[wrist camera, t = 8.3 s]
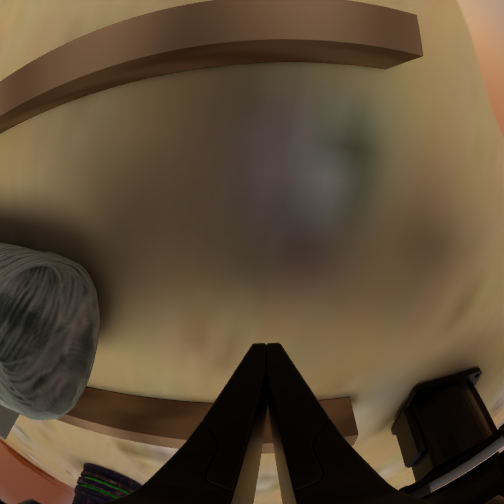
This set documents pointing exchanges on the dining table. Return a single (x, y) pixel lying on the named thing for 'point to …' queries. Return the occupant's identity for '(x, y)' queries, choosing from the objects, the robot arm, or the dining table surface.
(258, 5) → the guide rails
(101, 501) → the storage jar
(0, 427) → the end stop
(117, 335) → the dining table surface
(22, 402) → the spool
